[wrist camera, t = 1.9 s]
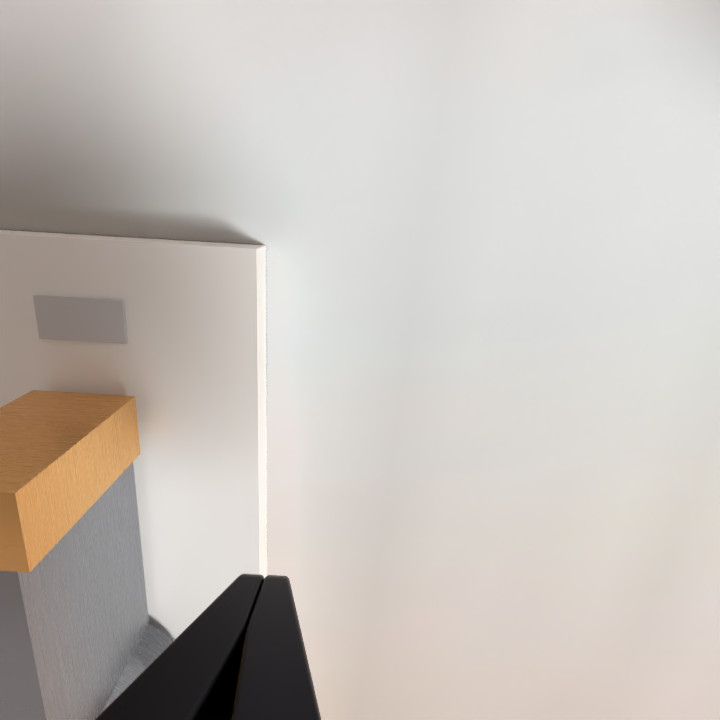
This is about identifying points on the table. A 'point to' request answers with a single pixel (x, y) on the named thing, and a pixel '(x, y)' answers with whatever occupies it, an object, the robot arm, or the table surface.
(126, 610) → the lock lever
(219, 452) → the base
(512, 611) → the table surface
